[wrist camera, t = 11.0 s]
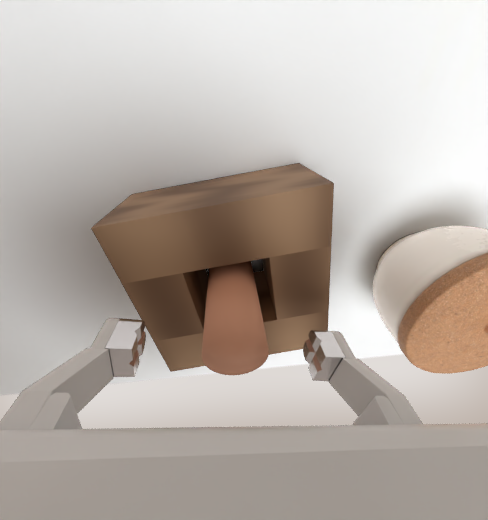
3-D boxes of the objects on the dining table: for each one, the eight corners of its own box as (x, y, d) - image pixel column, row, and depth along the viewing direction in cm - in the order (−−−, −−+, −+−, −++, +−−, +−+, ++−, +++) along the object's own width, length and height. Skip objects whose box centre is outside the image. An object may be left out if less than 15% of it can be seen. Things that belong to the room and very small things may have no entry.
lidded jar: (347, 230, 19) (435, 307, 11) (482, 187, 18) (682, 241, 10) (354, 316, 25) (417, 410, 17) (458, 288, 24) (577, 373, 16)
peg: (213, 269, 20) (207, 378, 12) (207, 237, 19) (195, 335, 10) (249, 266, 20) (269, 370, 12) (247, 232, 19) (268, 327, 10)
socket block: (182, 314, 23) (170, 371, 18) (131, 194, 16) (91, 227, 11) (303, 293, 23) (327, 344, 17) (298, 163, 16) (333, 183, 11)
